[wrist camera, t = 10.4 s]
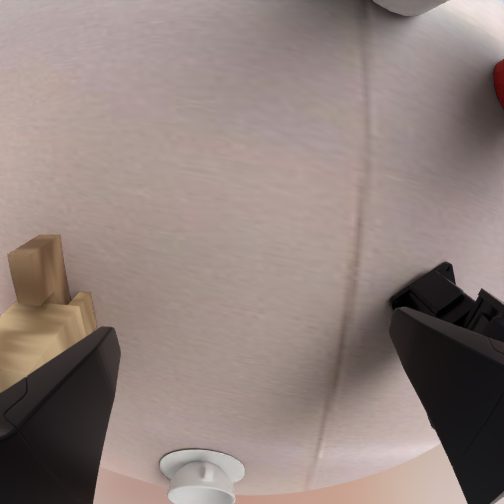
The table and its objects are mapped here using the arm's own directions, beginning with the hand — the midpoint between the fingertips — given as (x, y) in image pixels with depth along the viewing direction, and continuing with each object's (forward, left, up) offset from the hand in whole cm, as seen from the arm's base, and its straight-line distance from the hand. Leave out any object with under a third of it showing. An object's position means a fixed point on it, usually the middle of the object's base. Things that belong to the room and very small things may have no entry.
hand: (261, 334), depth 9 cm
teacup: (-22, +18, -13) cm, 31 cm away
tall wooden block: (+2, +16, -12) cm, 20 cm away
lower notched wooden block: (+2, +16, -12) cm, 20 cm away
